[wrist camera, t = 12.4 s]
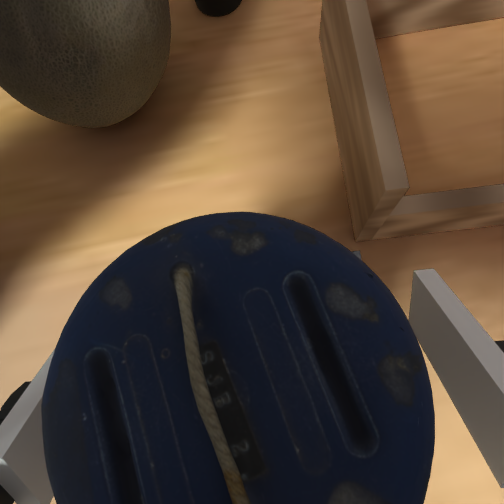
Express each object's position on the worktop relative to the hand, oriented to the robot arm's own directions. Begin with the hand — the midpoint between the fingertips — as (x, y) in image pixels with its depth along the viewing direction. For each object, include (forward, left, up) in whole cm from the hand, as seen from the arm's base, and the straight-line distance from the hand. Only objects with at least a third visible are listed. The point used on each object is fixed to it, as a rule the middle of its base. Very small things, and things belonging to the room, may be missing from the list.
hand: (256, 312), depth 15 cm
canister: (0, -2, -10) cm, 10 cm away
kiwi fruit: (-12, +23, -11) cm, 28 cm away
